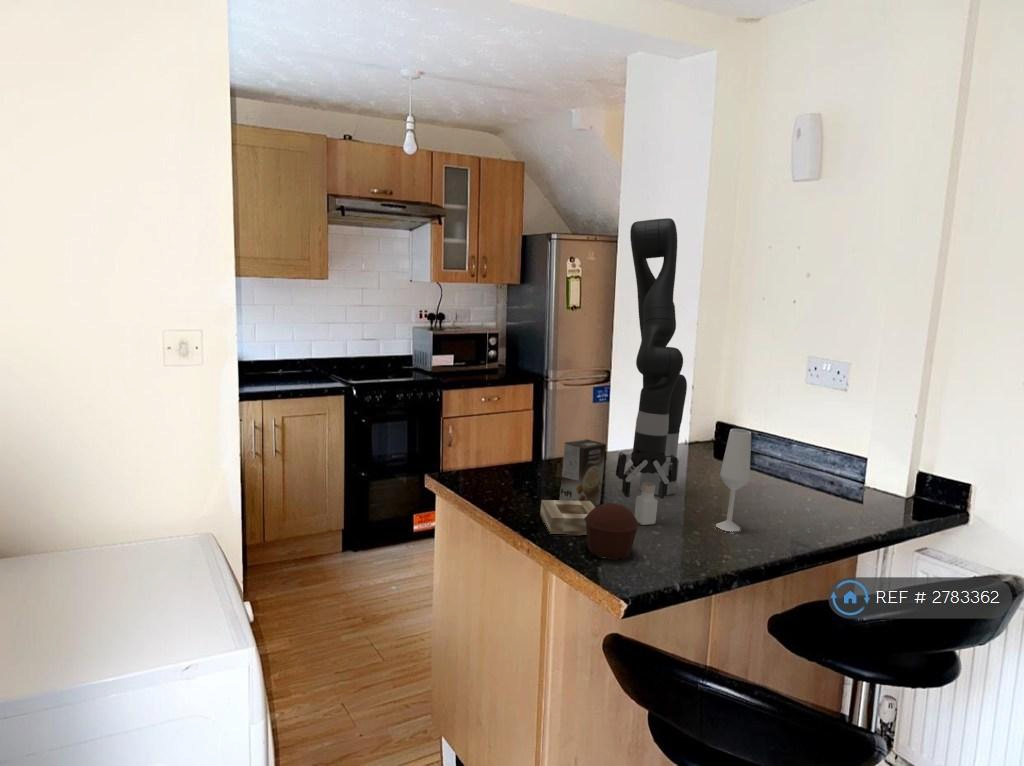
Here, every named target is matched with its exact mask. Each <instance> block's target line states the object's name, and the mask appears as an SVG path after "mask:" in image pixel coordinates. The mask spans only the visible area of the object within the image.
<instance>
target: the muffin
mask: <svg viewBox="0 0 1024 766" xmlns="http://www.w3.org/2000/svg"><path fill="white" fill-rule="evenodd" d="M584 520H585V522H586V529H587V536H586V542H587V549H588V551H589V550H590V551H589V552H591V553H593V554H596V555H598V556H600V557H606V558H611V559H617V558H626V559H627V557H628V556H629V555H628V554H630V555H631V552H632V549H633V546H634V541H635V539H636V533H637V531H638V530H637V529H638V528H639V527H640V523H638V522H637V520H636V518H635V517H634V514H633V512H632V510H630V509H629V508H627V507H625V506H624V505H622V504H618V503H611V502H610V503H603V504H600V505H597V506H595V508H594V509H593V510H592V511H591V512H590V513H589V514H588V515H587V516H586V517H585V518H584ZM591 553H590V554H591ZM593 554H592V555H593ZM596 555H595V556H596ZM627 555H628V556H627ZM598 556H597V557H598ZM600 557H599V558H600ZM611 559H610V560H611Z"/></svg>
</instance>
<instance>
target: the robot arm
mask: <svg viewBox="0 0 1024 766" xmlns="http://www.w3.org/2000/svg"><path fill="white" fill-rule="evenodd" d="M629 234H630V237H629V238H630V246H631V254H632V259H633V260H632V261H633V266H634V274H635V279H636V291H637V305H638V307H637V308H638V318H639V319H638V320H639V329H640V337H641V342H640V346H639V349H638V352H637V355H636V360H635V362H636V363H635V365H636V368H637V370H638V372H639V373H640V374H641V375H642V388H641V390H640V393H639V394H640V395H639V404H638V411H637V416H636V420H635V428H634V437H633V446H632V452H631V453H624V452H623V451H621V452H619V453H618V457H617V463H616V470H615V476H616V477H617V478H618V480H622V486H621V493H622V494H623V496H624V497H625V498H630V496H631V495H630V493H631V486H632V485H631V484H632V483H631V481H632V479H633V478H635V477H636V476H637V475H638V474H639V476H640V477H639V480H638V481H639V484H638V489H639V490H640V491H641V487H642V483H645V482H647V483H653V484H655V493H654V496H658V498H659V499H662V500H663V499H664V498H665V497H666V496H670V495H676V492H677V491H676V489H677V484H678V483H677V482H678V481H677V480H678V474H679V463H680V460H679V459H678V456H677V455H678V447H679V438H680V431H681V424H682V421H683V415H684V408H685V402H686V397H687V390H688V382H687V377H685V375H683V374H681V372H682V369H683V366H684V365H683V364H684V357H683V353H682V351H681V350H680V349H679V348H677V347H672V346H668V345H669V342H670V341H671V340H672V338H673V337H674V334H675V333H676V328H677V321H676V317H677V316H676V307H675V306H676V304H675V303H674V291H675V289H674V288H675V283H676V271H677V259H678V258H677V257H678V230H677V226H676V223H675V221H674V219H672V218H670V217H669V218H655V219H646V220H639V221H634V222H633V223H632V224H631V226H630V232H629ZM654 258H655V259H656V258H663V262H662V266H661V268H660V271H659V272H658V275H657V277H655V275H654V274H653V272H652V271H651V268H650V266H649V263H648V260H647V259H654ZM629 461H631V463H632V464H631V465H630V466H629V467H628V469H627V470H626V464H627V463H628V462H629ZM625 470H626V471H625Z"/></svg>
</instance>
